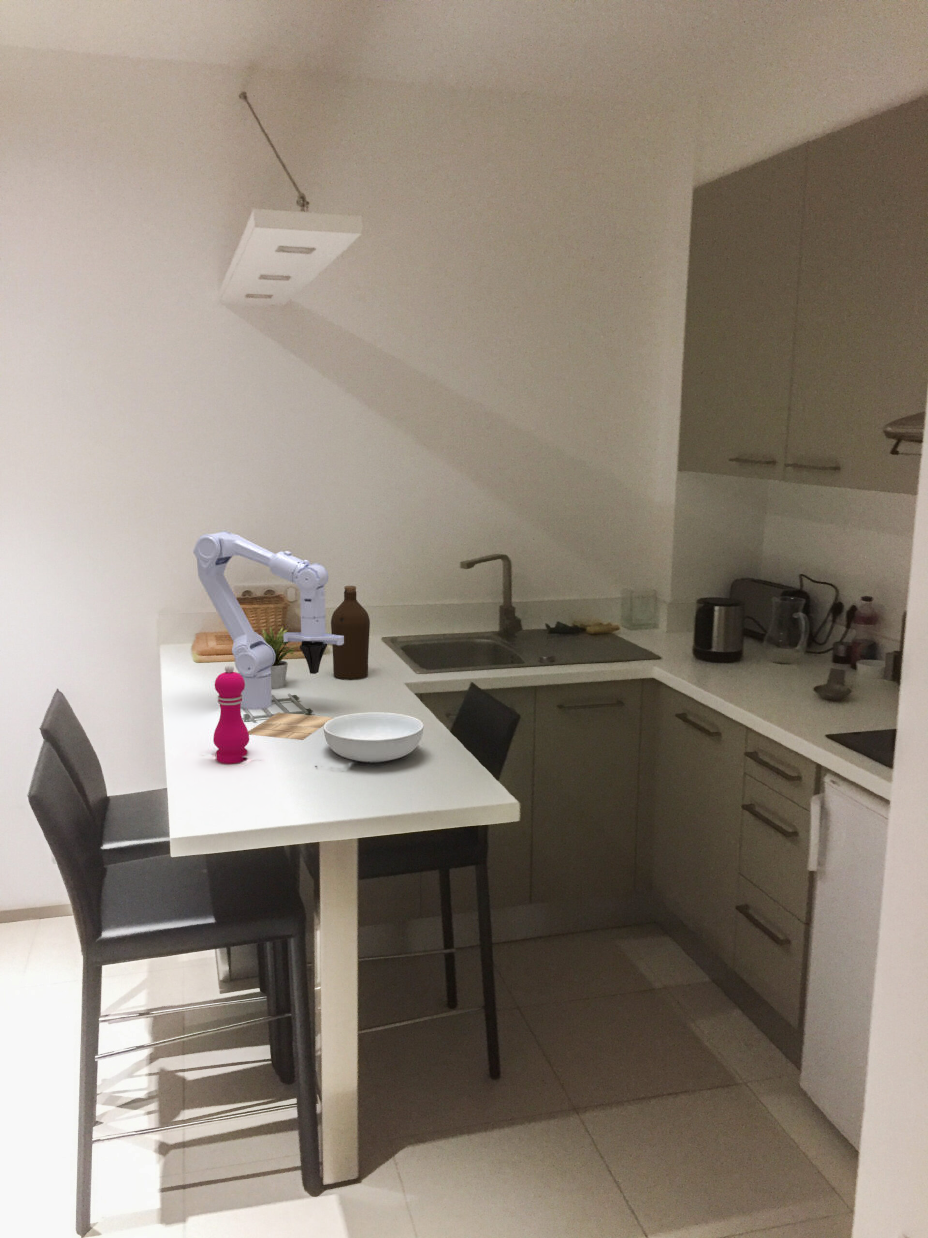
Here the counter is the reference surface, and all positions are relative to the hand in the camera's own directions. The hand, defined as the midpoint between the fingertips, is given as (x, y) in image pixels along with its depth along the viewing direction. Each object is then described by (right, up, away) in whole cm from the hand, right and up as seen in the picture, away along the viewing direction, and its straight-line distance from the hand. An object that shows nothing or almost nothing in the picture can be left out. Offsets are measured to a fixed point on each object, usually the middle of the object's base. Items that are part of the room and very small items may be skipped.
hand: (314, 672), depth 239 cm
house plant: (-14, -5, +27) cm, 31 cm away
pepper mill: (-12, -16, -30) cm, 37 cm away
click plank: (-3, -12, -6) cm, 13 cm away
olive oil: (+4, -3, +41) cm, 41 cm away
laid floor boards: (-5, -13, -15) cm, 20 cm away
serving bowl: (+16, -16, -27) cm, 35 cm away
